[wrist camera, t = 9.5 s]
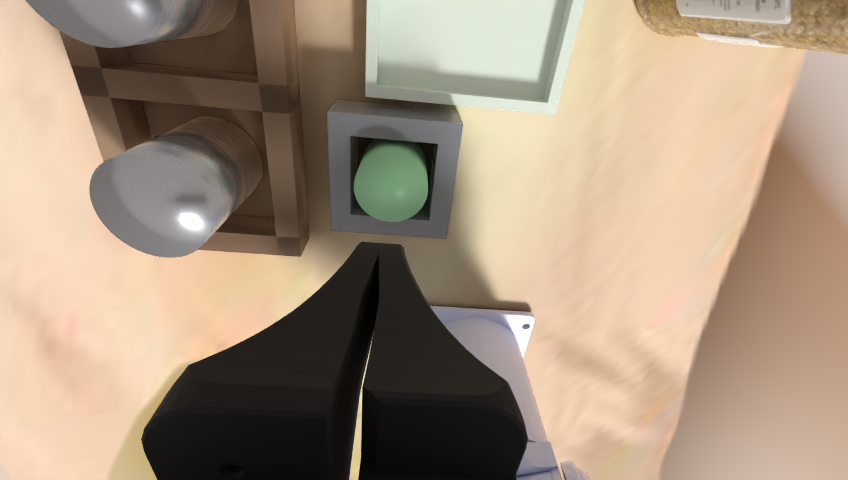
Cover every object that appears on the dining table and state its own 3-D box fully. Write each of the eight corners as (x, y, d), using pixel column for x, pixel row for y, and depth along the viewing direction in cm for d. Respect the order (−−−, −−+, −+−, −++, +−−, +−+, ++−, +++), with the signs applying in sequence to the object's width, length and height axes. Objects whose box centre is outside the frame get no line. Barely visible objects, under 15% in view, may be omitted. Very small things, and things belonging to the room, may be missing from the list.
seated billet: (268, 200, 22) (220, 259, 17) (187, 196, 22) (113, 254, 16) (255, 119, 19) (195, 158, 14) (164, 113, 19) (70, 151, 14)
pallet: (309, 238, 23) (300, 256, 21) (153, 227, 23) (132, 245, 21) (284, -140, 15) (266, -159, 13) (34, -173, 14) (-19, -198, 12)
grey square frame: (443, 216, 23) (446, 238, 20) (339, 208, 22) (331, 230, 20) (457, 110, 19) (463, 123, 17) (336, 99, 19) (327, 111, 17)
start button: (423, 198, 21) (424, 224, 19) (361, 193, 21) (353, 219, 19) (429, 137, 20) (431, 156, 17) (362, 131, 19) (353, 149, 17)
